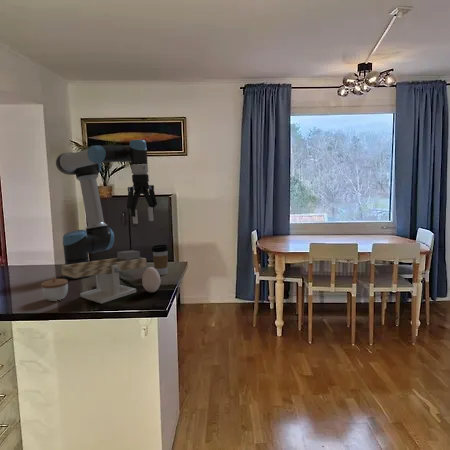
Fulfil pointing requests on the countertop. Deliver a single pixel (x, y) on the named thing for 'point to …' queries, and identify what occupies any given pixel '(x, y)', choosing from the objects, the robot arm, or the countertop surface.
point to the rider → (128, 255)
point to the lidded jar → (55, 289)
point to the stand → (108, 287)
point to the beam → (100, 267)
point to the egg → (151, 279)
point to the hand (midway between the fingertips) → (143, 222)
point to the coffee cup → (160, 258)
